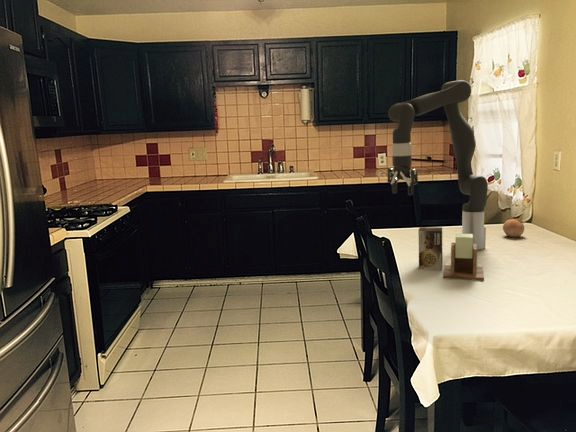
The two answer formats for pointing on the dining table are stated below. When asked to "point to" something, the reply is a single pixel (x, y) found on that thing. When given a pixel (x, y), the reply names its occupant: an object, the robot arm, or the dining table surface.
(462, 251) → the block
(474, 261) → the chute
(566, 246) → the dining table surface
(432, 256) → the coffee box
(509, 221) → the onion
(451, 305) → the dining table surface
